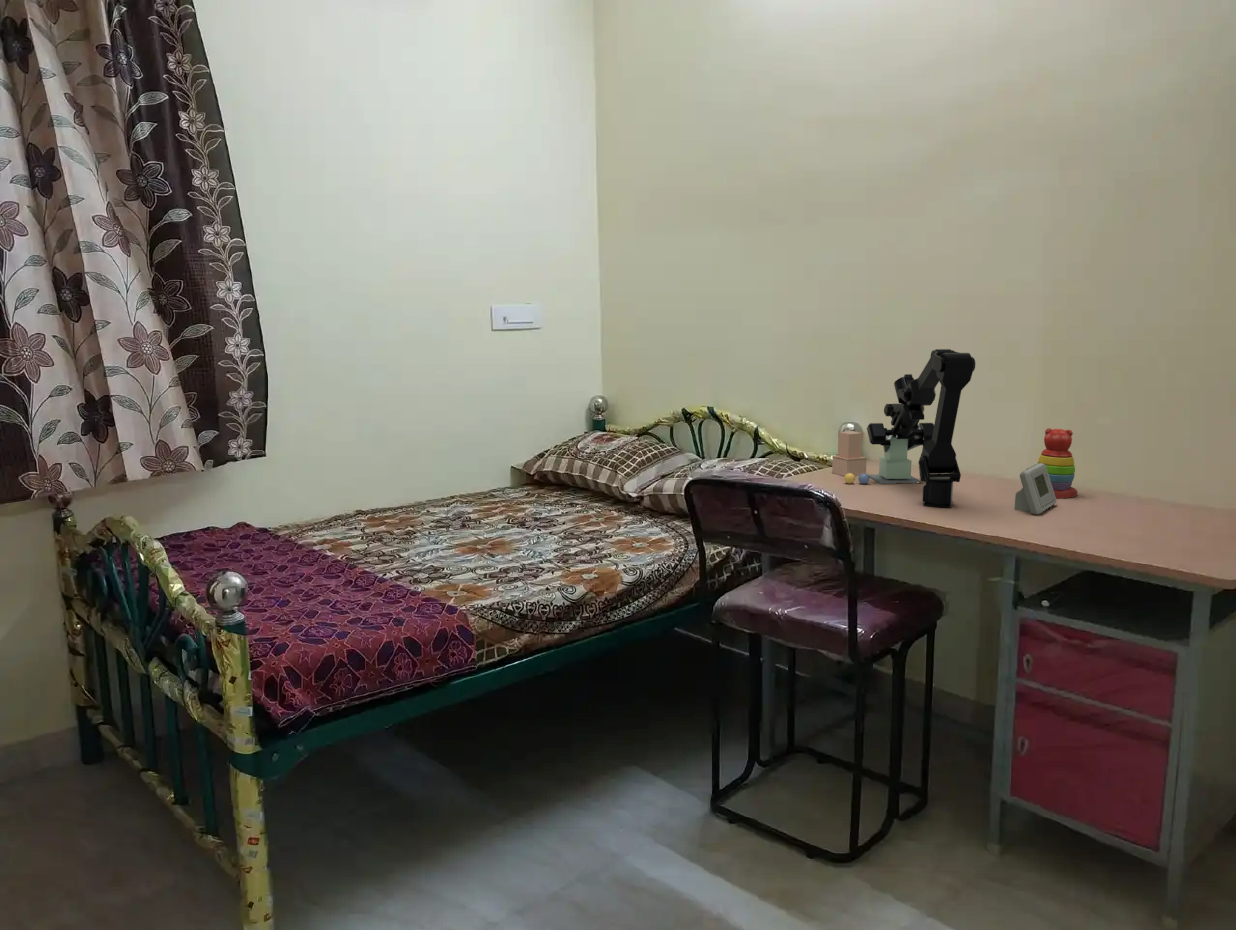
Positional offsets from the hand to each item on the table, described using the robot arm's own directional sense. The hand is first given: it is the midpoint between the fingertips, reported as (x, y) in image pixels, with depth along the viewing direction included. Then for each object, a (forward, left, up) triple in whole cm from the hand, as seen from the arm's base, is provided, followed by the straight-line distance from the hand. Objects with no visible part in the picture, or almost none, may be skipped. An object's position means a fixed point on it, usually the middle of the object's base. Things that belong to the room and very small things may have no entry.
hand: (894, 450), depth 270 cm
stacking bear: (-43, +5, -8) cm, 44 cm away
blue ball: (+7, +10, -6) cm, 14 cm away
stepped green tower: (-1, +1, -7) cm, 7 cm away
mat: (-1, +1, -8) cm, 8 cm away
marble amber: (+11, +12, -6) cm, 17 cm away
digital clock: (-39, +26, -9) cm, 48 cm away
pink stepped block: (+13, -3, -8) cm, 16 cm away
